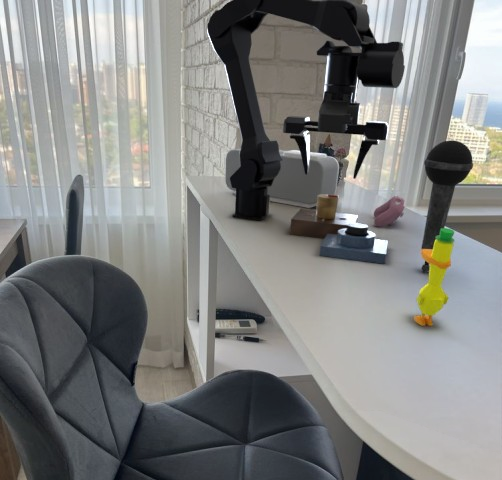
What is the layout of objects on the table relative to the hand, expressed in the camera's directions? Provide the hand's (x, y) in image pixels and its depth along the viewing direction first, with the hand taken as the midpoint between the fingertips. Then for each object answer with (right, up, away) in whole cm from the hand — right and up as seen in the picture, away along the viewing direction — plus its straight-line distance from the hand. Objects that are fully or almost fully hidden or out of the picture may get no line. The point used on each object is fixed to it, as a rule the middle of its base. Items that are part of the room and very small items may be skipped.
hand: (330, 176), depth 97 cm
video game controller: (+15, -6, +14) cm, 21 cm away
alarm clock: (-8, +4, +32) cm, 34 cm away
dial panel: (-1, -10, +5) cm, 11 cm away
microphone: (+13, -20, -15) cm, 28 cm away
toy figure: (+6, -29, -33) cm, 44 cm away
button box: (+3, -16, -7) cm, 18 cm away
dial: (0, -7, +3) cm, 8 cm away
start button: (+3, -13, -9) cm, 16 cm away
